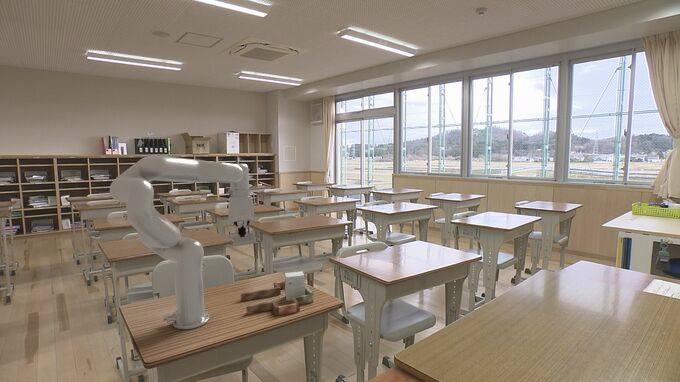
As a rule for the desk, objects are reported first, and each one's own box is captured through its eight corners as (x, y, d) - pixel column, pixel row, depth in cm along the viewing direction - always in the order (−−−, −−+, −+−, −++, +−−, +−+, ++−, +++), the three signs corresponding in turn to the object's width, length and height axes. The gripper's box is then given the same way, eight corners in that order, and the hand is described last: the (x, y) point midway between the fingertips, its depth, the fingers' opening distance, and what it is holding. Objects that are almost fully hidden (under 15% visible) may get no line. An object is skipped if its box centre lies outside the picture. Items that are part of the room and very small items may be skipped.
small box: (303, 294, 163) (302, 270, 162) (305, 299, 158) (304, 275, 156) (285, 296, 161) (284, 272, 160) (286, 301, 155) (285, 277, 154)
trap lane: (250, 320, 138) (249, 310, 137) (238, 295, 163) (238, 286, 163) (318, 307, 149) (318, 297, 148) (297, 285, 174) (297, 276, 174)
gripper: (222, 195, 148) (224, 240, 150) (259, 193, 154) (261, 236, 156) (220, 193, 155) (222, 236, 157) (256, 191, 161) (258, 233, 163)
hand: (242, 236), depth 157 cm, fingers closed
